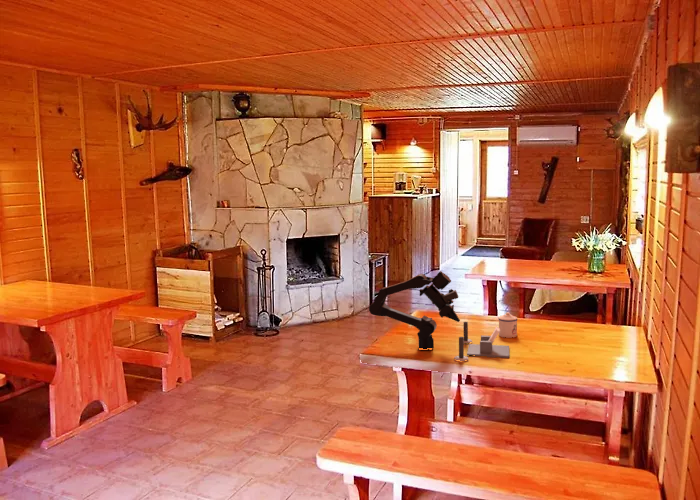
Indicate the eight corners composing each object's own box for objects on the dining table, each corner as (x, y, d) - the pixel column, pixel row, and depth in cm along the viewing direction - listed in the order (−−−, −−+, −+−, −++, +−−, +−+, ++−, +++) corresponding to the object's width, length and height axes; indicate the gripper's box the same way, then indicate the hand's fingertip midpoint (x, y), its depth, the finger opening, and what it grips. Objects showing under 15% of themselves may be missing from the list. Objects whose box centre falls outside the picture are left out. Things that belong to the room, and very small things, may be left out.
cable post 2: (460, 344, 273) (459, 323, 272) (458, 340, 279) (458, 320, 278) (472, 344, 273) (472, 323, 272) (471, 340, 279) (471, 320, 278)
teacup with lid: (515, 338, 280) (516, 315, 279) (496, 337, 284) (496, 314, 283) (519, 332, 291) (519, 310, 290) (500, 331, 295) (500, 308, 293)
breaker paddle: (484, 348, 257) (496, 329, 255) (485, 344, 263) (496, 326, 261) (488, 350, 257) (499, 331, 255) (488, 346, 263) (499, 328, 260)
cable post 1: (454, 362, 247) (454, 339, 246) (453, 357, 253) (453, 335, 252) (469, 362, 246) (469, 339, 245) (467, 357, 252) (467, 335, 251)
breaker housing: (467, 356, 255) (466, 342, 254) (469, 346, 270) (469, 333, 269) (509, 358, 250) (509, 344, 249) (509, 347, 265) (509, 335, 265)
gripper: (447, 287, 253) (472, 313, 251) (448, 281, 271) (472, 305, 269) (428, 304, 255) (453, 330, 254) (431, 297, 273) (454, 321, 272)
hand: (459, 321), depth 262 cm, fingers closed
